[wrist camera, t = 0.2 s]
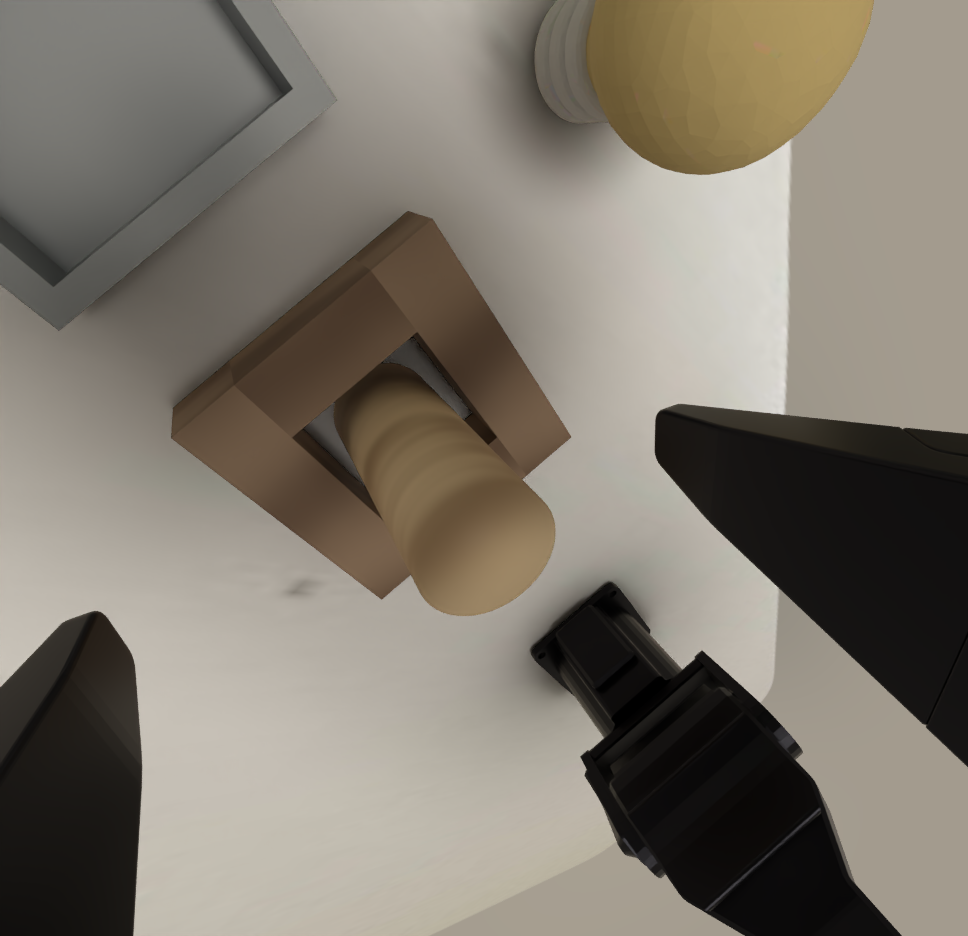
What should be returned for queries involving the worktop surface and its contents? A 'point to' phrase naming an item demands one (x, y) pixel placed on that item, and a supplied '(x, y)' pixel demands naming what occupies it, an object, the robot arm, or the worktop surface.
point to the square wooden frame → (339, 366)
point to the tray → (132, 130)
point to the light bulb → (698, 72)
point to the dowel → (443, 494)
